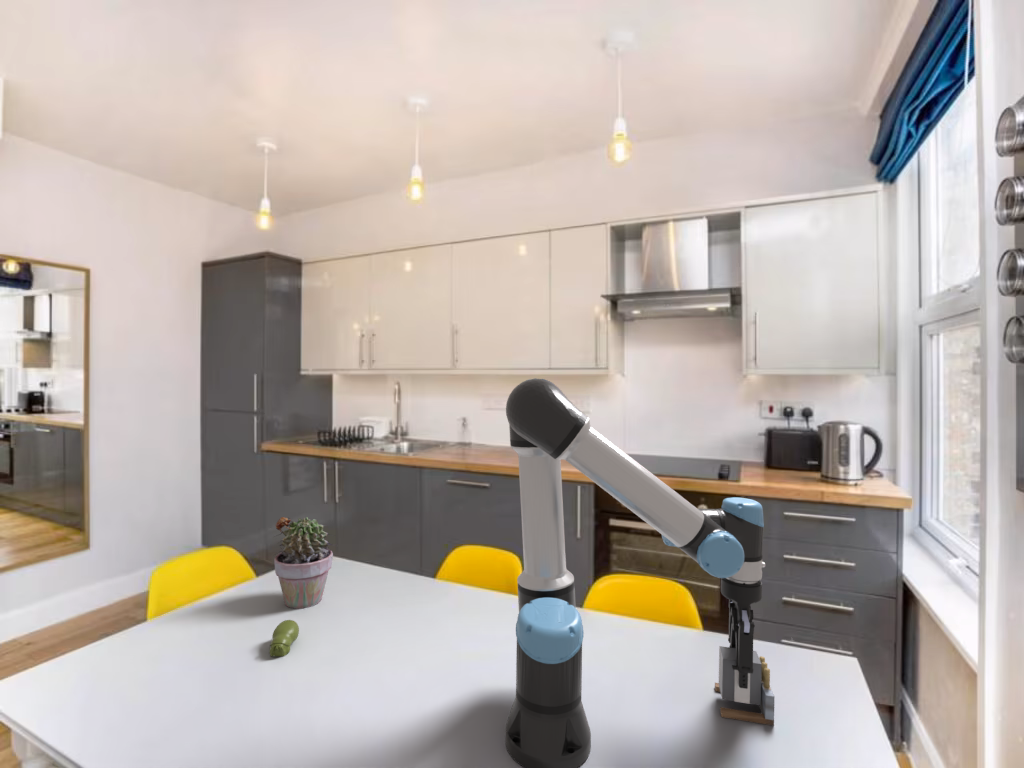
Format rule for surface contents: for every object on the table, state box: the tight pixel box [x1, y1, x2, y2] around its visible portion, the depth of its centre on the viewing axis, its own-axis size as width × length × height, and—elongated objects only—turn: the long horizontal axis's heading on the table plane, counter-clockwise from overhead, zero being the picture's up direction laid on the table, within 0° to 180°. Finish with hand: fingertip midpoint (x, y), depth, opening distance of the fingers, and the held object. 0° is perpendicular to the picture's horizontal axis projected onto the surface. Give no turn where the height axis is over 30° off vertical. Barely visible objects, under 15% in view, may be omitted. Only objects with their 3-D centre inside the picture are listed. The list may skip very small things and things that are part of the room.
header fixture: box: [714, 655, 775, 726], centre depth 103 cm, size 10×9×9 cm
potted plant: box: [273, 516, 337, 610], centre depth 149 cm, size 18×20×25 cm
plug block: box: [718, 645, 762, 706], centre depth 103 cm, size 5×7×8 cm
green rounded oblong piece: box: [268, 619, 300, 658], centre depth 123 cm, size 6×5×10 cm
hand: (739, 692), depth 103 cm, fingers closed on plug block, 5 cm apart
